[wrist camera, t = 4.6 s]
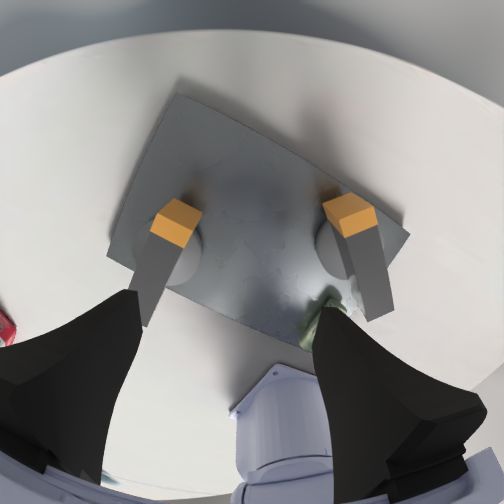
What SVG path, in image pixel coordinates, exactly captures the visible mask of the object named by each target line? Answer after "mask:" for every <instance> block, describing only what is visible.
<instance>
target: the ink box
mask: <svg viewBox="0 0 504 504" xmlns="http://www.w3.org/2000/svg"><path fill="white" fill-rule="evenodd" d="M16 330H17V329H16V328H15V327H14V326H13V325H12V323H11V322H10V321H9V320H8V319H7V318H6V317H5V316H4V314H3V313H2V312H1V311H0V347H5V346H9V345H12V343H13V341H14V338H15V335H16Z"/></svg>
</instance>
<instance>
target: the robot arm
mask: <svg viewBox="0 0 504 504" xmlns="http://www.w3.org/2000/svg"><path fill="white" fill-rule="evenodd" d="M142 333H143V330H142V323H141V315H140V307H139V299H138V291H134V290H127V289H123V290H121V291H119V292H117V293H116V294H114V295H113V296H111V297H109V298H108V299H106V300H105V301H103V302H102V303H100V304H98V305H97V306H95V307H94V308H92V309H91V310H89V311H87V312H86V313H84V314H82V315H81V316H79V317H77V318H75V319H74V320H72V321H70V322H68V323H67V324H65V325H63V326H61V327H59V328H57V329H54V330H52V331H50V332H48V333H46V334H43V335H40V336H38V337H35V338H32V339H29V340H27V341H24V342H20V343H17V344H13V345H9V346H5V347H0V504H170V503H164V502H159V501H154V500H150V499H145V498H141V497H137V496H133V495H129V494H125V493H122V492H118V491H115V490H111V489H108V488H105V487H102V486H100V484H101V472H102V463H103V456H104V450H105V444H106V438H107V434H108V429H109V425H110V421H111V417H112V413H113V409H114V406H115V402H116V399H117V397H118V394H119V392H120V389H121V387H122V385H123V382H124V380H125V378H126V376H127V373H128V371H129V369H130V367H131V364H132V362H133V360H134V358H135V355H136V353H137V350H138V347H139V344H140V340H141V337H142ZM312 355H313V362H314V368H315V372H316V376H314V375H311V374H308V373H305V372H302V371H299V370H297V369H294V368H291V367H288V366H285V365H283V364H275V365H274V366H273V367H272V368H271V369H270V370H269V371H268V372H267V374H266V375H265V376H264V377H263V378H262V379H261V380H260V381H259V382H258V383H257V385H256V386H255V387H254V388H253V389H252V390H251V391H250V392H249V393H248V394H247V395H246V396H245V397H244V399H243V400H242V401H241V402H240V403H239V404H238V405H237V406H236V407H235V408H234V409H233V410H232V411H231V412H230V413H229V417H230V418H232V419H235V420H237V436H236V466H237V470H238V472H239V474H240V476H241V477H242V478H243V480H244V481H245V482H242V483H240V484H239V485H238V487H237V488H236V489H235V491H234V492H233V494H232V497H231V501H230V504H499V503H500V502H501V501H503V500H504V473H503V471H502V469H501V466H500V464H499V462H498V460H497V458H496V456H495V454H494V452H493V450H492V448H491V447H488V448H486V449H484V450H482V451H481V452H479V453H477V454H475V455H473V456H471V457H470V458H468V459H466V460H465V461H464V458H463V456H462V455H463V454H464V453H465V452H466V449H465V447H464V445H463V444H464V443H465V442H466V440H468V439H469V437H470V436H471V435H472V434H473V433H474V432H475V431H476V430H477V429H478V428H479V427H480V425H481V424H482V423H483V421H484V420H485V418H486V415H487V409H486V408H485V406H484V404H483V402H482V401H481V399H480V397H479V396H478V394H476V393H473V392H470V391H466V390H463V389H460V388H456V387H453V386H451V385H448V384H446V383H443V382H441V381H438V380H436V379H434V378H432V377H430V376H428V375H426V374H424V373H422V372H420V371H418V370H416V369H415V368H413V367H411V366H409V365H408V364H406V363H405V362H403V361H402V360H400V359H399V358H397V357H396V356H394V355H393V354H391V353H390V352H389V351H387V350H386V349H385V348H384V347H382V346H381V345H380V344H378V343H377V342H376V341H375V340H374V339H372V338H371V337H370V336H369V335H368V334H367V333H366V332H364V331H363V330H362V329H361V328H360V327H359V326H358V325H357V324H356V323H354V322H353V321H352V320H351V319H350V318H349V317H348V316H347V315H346V314H345V313H343V312H342V311H341V310H340V309H339V308H337V307H322V310H321V313H320V317H319V321H318V325H317V328H316V332H315V335H314V339H313V342H312Z"/></svg>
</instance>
